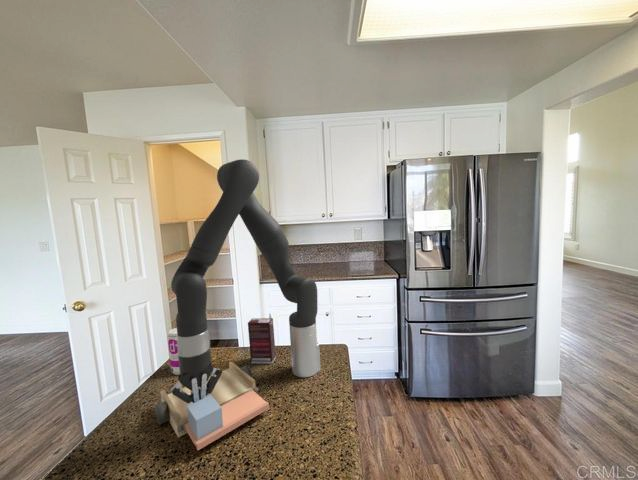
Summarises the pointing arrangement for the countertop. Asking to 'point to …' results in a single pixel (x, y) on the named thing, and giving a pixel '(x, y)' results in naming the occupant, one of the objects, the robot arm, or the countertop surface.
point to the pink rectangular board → (233, 416)
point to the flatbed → (225, 390)
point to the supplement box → (261, 340)
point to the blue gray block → (204, 417)
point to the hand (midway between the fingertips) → (200, 412)
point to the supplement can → (173, 351)
